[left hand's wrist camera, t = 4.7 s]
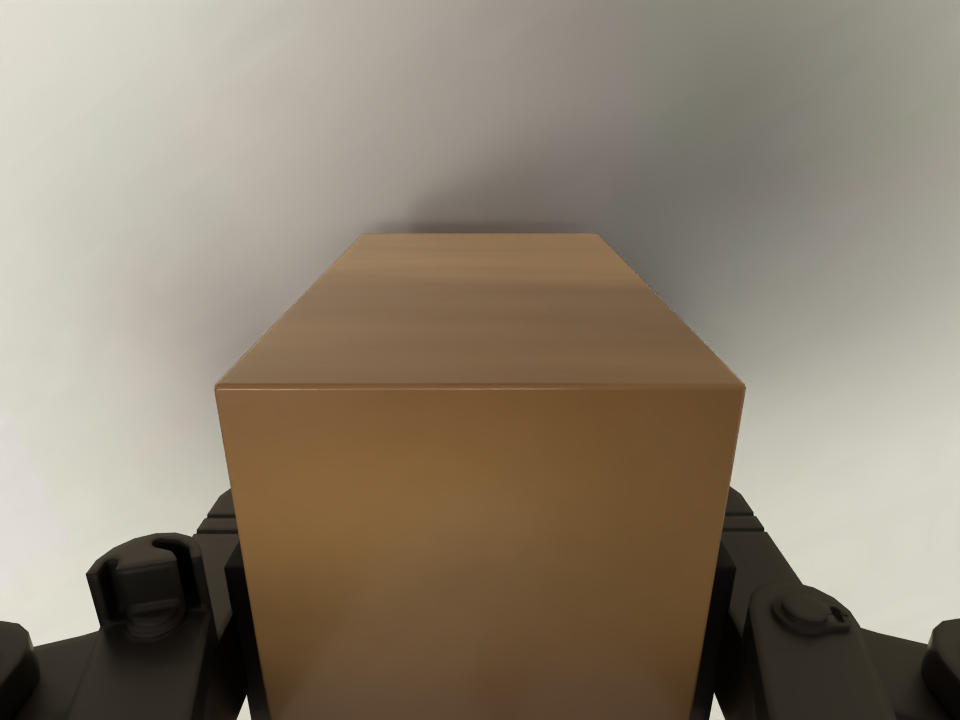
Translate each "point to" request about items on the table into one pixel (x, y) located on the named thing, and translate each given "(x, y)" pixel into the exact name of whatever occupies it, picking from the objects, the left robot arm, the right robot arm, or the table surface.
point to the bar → (480, 485)
